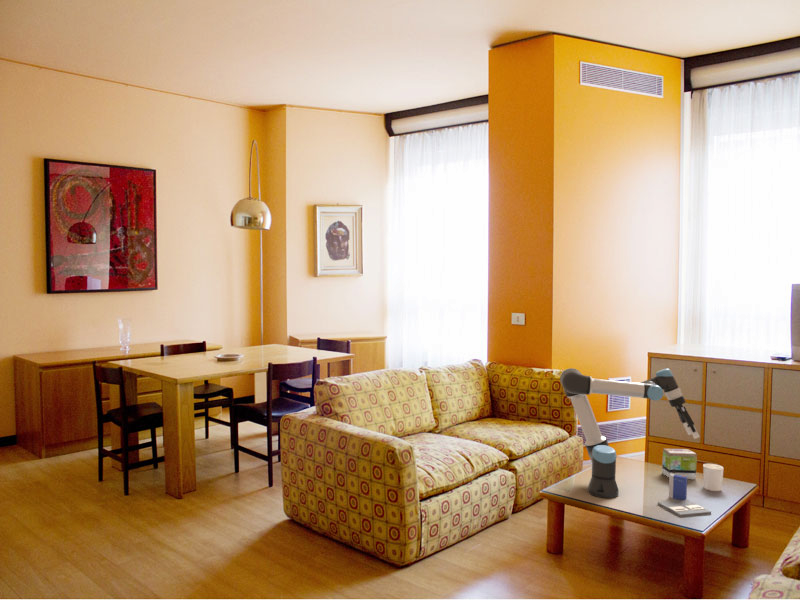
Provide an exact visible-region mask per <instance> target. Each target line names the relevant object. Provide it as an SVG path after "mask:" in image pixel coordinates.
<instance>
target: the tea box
mask: <svg viewBox="0 0 800 600" xmlns="http://www.w3.org/2000/svg"><path fill="white" fill-rule="evenodd" d="M697 460H698V454H697V453H696V452H694V451H692V450H690V449H687V448H663V450H662V463H661V465H662V466H661V474H662V473H663V474H662V475H664V476H665V475H666V476H667V477H666V476H665V477H666V478H668V477H669V475H670V474H675V475H680V476H682V475H683V476H685V477H687V480H696V479H697V477H696V476H697V464H698V463H697V462H698V461H697Z"/></svg>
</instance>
